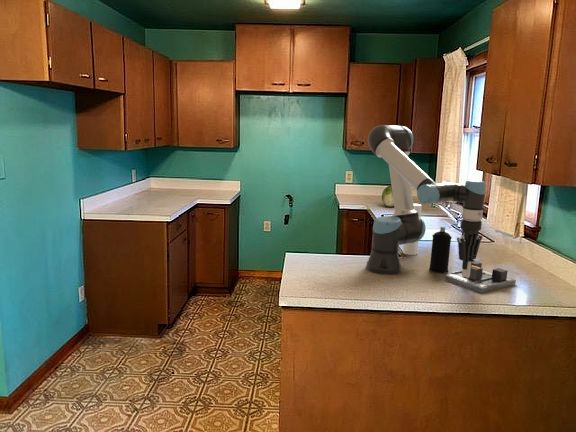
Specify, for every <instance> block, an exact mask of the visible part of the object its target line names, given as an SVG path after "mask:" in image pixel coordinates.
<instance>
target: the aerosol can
mask: <svg viewBox="0 0 576 432" xmlns="http://www.w3.org/2000/svg"><path fill="white" fill-rule="evenodd" d="M431 237H432V241H431V242H432V243H431V253H430V262H429V268H428V270H429V271H430V272H432V273H436V274H448V273H449V260H450V253H451V243H452V235H450V234H449V233H448V232H446V227H445V226H440V229H439V231H436V232H435V233H433V234H432V236H431Z"/></svg>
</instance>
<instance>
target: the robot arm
mask: <svg viewBox="0 0 576 432" xmlns="http://www.w3.org/2000/svg"><path fill="white" fill-rule="evenodd" d="M367 144H368V147H369V149H370V150H371V152H372V153H373V154H374V155H375V156H377V157H378V158H382V159H383V160H384V162H386V163H387V164H388V169H389V170H388V171H389V176H390V185H392V192H393V200H394V206H393V207H394V212H393V214H392V215H387V216H386V215H383V216H379V217H376V218H375V219H374V221H373V225H372V237H371V238H372V239H371V250H370V251H371V252H370V254H369V257H368V260H367V261H366V267H365V268H366V270H367V271H369V272H372V273H374V274H380V275H397V274H400V273H401V272H402V264H401V261H400V255H399V250H400V249H399V248H400V246H401V245H403V244H407V243H414V242H417V241H418V242H420V241H421V239H423V237H424V236H425V233H426V223H425V221H424V220H423V219H422V217H421V218H420V217H419V215H418V212H417V211H416V210H415V209H414V204H413V203H414V200H413V199H414V197H413V189H414V190H415V191H416V196H417V199H418V201H419V202H421V204H422V203H423V204H428V205H430V204H432V205H433V204H437V203H447V202H448V203H449V202H455V203H461V204H462V211H461V212H462V214H461V218H462V219H461V223H460V224H461V225H460V227H461V229H462V232H461V236H460V237H459V236H458V237H456V241H457V247H458V259H459V260H461V261H462V264H461V265H462V267H461V270H462V276H464V277H467V278H468V277H470V269H471V264H472V262H474V261H476V259H477V256H478V253H479V252H478V251H479V250H480V249H479V248H480V244H481V242H482V239H483V235H480V232H479V231H481V229H482V225H483V222H482V219H483V213H484V206H485V198H486V197H485V196H486V193H487V192H486V187H487V184H486V182H485V181H484V180H476V179H468V180H465V183H457V182H451V181H441V182H440V183H437V182H435V181H434V180H433V179H432V178H431V177H430V176H429V175H428V174H427V173H426V172H425V171H424V170H422V169H421V168H420V167H419V165H417V164H416V163H415V162H414V161H413V160H412V159H410V158H409V155H410V154H411V151H410V149H411V148H413V144H414V135H413V133H412V131H411V129H409V128H408V127H407V126H403V125H398V124H397V125H389V124H388V125H386V124H379V125H376V126H374V127H373V128H371V130H370V131H369V133H368V136H367Z"/></svg>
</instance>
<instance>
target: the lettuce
mask: <svg viewBox="0 0 576 432" xmlns="http://www.w3.org/2000/svg"><path fill="white" fill-rule="evenodd" d="M381 201H382V203H383V205H384V206H385V207H389V208H393V207H394V200H393V192H392V185H391V184H390V185H388V186H387V187H385V188H384V189H383V191H382V193H381Z"/></svg>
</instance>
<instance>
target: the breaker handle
mask: <svg viewBox="0 0 576 432" xmlns="http://www.w3.org/2000/svg"><path fill="white" fill-rule="evenodd" d="M483 270H484V269H483V268H480V267H477V266H473V265H472V266H471V269H470V277H468V278H470V279H473V280H479V279H482V272H483Z"/></svg>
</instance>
